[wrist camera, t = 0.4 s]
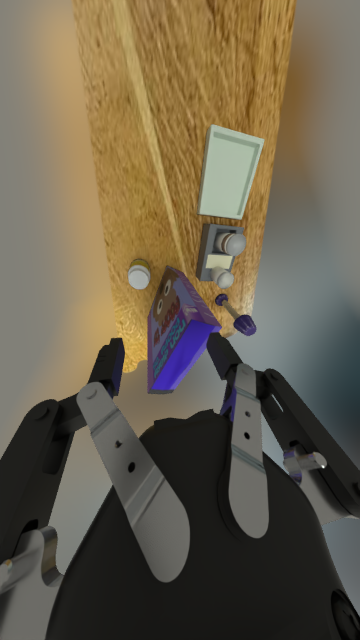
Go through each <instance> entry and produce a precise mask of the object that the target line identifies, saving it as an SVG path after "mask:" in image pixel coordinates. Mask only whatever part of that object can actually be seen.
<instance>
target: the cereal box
mask: <svg viewBox="0 0 360 640" xmlns="http://www.w3.org/2000/svg"><path fill="white" fill-rule="evenodd" d="M221 328H222V326H221V325H220V324H219V322H218V321H217V319H216V318H215V317H214V315H213V314H212V312H211V311H210V310H209V308H208V307H207V305H206V304H205V303H204V301H203V300H202V298H201V297H200V296H199V294H198V293H197V291H196V290H195V288H194V287H193V286H192V284H191V283H190V281H189V280H188V279H187V277H186V276H185V274H184V273H183V272H181V271H179V270H176V269H174V268H172V267H169V266H167V267H166V269H165V272H164V275H163V278H162V280H161V283H160V286H159V288H158V291H157V294H156V296H155V299H154V302H153V304H152V307H151V310H150V312H149V315H148V393H151V394H167V393H172V392H173V391H174V389H175V388H176V387H177V385H178V384H179V383H180V382H181V380H182V379H183V378H184V376H185V375H186V374H187V372H188V371H189V370H190V368H191V367H192V366H193V365H194V363H195V362H196V361H197V359H198V358H199V357H200V355H201V354H202V353H203V352H204V350H205V349H206V348H207V347H206V344H207V340H208V337H209V334H210V333H211V332H219V331H220V329H221Z"/></svg>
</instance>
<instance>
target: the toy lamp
mask: <svg viewBox="0 0 360 640" xmlns="http://www.w3.org/2000/svg"><path fill="white" fill-rule="evenodd" d="M227 301H228V297H227V295H225V294H220V295H218V296H217V297H216V299H215V303H216V304H217V305H219V306H224V307H225V308H226V310H227V311H228V312H229V313H230V314H231V316H233V317H234V319H235V321H234V327H235V329H237V330H238V331H240V332H241V333H243V334H244V335H247V336H250V335H252V334H254V333H255V332H256V326H255V324H254V322H253V320H252V318H251V317H250V316H249V315H241V316H240V315H239V314H238V313H237V312H236V311H235V310H234V308H232V306H231V305H230V304H229V303H228V302H227Z"/></svg>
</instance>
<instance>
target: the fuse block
mask: <svg viewBox="0 0 360 640" xmlns="http://www.w3.org/2000/svg"><path fill="white" fill-rule="evenodd" d="M243 230H244V228H242V227H233V226H225V225H216V224H204V226H203V232H202V239H201V245H200V251H199V258H198V264H197V271H196V277H197V278H198V279H199V280H200V281H214V282H215V283H216V284H217V285H218V286H219V287H220V288H222V289H226V288H228V287H230V286H231V285H232V283H233V281H234V276H233V274H231V273H230V272H231V269H232V266H233V262H234V259H235V256H231V255H229V254H226V253H224V252H222V251H220V250H217V249H214V248H213V244H214V239H215V235H216V233H217V232H225V233H235V234H242V233H243Z"/></svg>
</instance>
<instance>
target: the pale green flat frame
mask: <svg viewBox="0 0 360 640" xmlns="http://www.w3.org/2000/svg"><path fill="white" fill-rule="evenodd" d="M263 144H264V139H261V138H257V137H254V136H251V135H247V134H244V133H240V132H237V131H233V130H230V129H227V128H223V127H220V126H216V125H213V124H211V126H210V127H209V129H208V131H207V136H206V144H205V152H204V160H203V168H202V176H201V184H200V192H199V200H198V208H197V214H199V215H206V216H214V217H222V218H229V219H242V216H243V212H244V209H245V206H246V202H247V199H248V195H249V192H250V188H251V185H252V181H253V178H254V175H255V171H256V168H257V164H258V161H259V157H260V154H261V150H262V147H263Z"/></svg>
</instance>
